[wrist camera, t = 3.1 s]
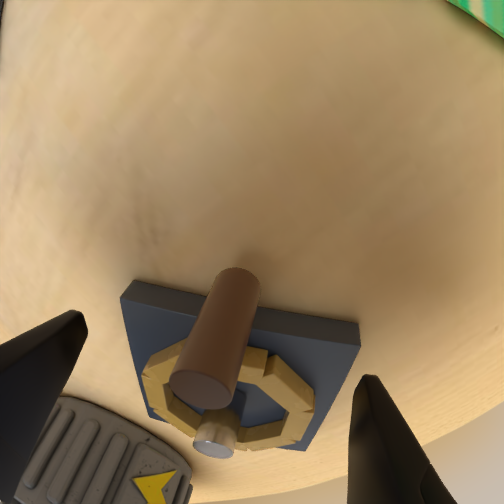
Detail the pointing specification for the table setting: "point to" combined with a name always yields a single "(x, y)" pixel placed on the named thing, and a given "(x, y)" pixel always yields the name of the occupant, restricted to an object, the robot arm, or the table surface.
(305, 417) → the ring
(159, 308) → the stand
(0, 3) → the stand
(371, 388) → the robot arm
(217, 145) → the table surface
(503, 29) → the candy
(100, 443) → the decorative lamp
